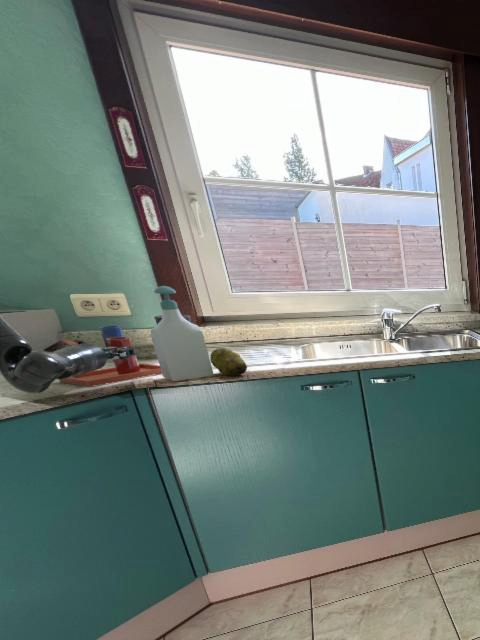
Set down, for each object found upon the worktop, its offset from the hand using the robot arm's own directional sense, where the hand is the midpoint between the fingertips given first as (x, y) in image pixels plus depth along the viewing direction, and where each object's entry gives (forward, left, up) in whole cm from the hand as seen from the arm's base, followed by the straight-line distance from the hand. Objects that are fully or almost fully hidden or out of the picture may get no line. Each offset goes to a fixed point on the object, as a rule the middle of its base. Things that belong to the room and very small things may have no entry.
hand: (114, 349), depth 149 cm
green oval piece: (+17, -23, -9) cm, 30 cm away
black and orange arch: (+10, +44, -9) cm, 46 cm away
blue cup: (+18, +33, -9) cm, 39 cm away
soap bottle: (+9, -15, -9) cm, 19 cm away
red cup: (+3, +2, -8) cm, 9 cm away
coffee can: (+32, +22, -9) cm, 40 cm away
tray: (0, +2, -9) cm, 9 cm away
